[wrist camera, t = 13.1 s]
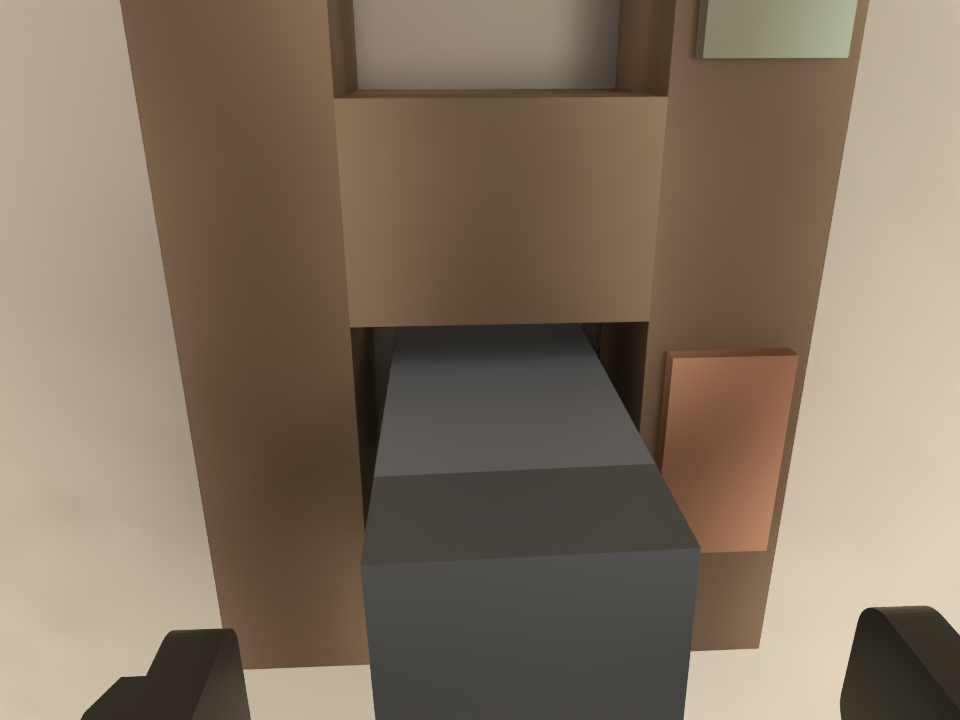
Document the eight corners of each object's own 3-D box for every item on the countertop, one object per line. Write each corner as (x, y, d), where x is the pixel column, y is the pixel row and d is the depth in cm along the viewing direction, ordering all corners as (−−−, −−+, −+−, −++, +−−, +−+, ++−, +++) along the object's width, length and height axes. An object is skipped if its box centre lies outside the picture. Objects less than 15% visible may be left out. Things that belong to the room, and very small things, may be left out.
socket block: (819, -383, 14) (984, -574, 9) (701, 544, 21) (765, 661, 17) (142, -400, 13) (7, -610, 9) (267, 559, 20) (224, 684, 16)
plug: (566, 299, 18) (701, 548, 9) (563, 445, 20) (676, 790, 10) (400, 305, 18) (359, 565, 9) (409, 452, 19) (384, 809, 10)
